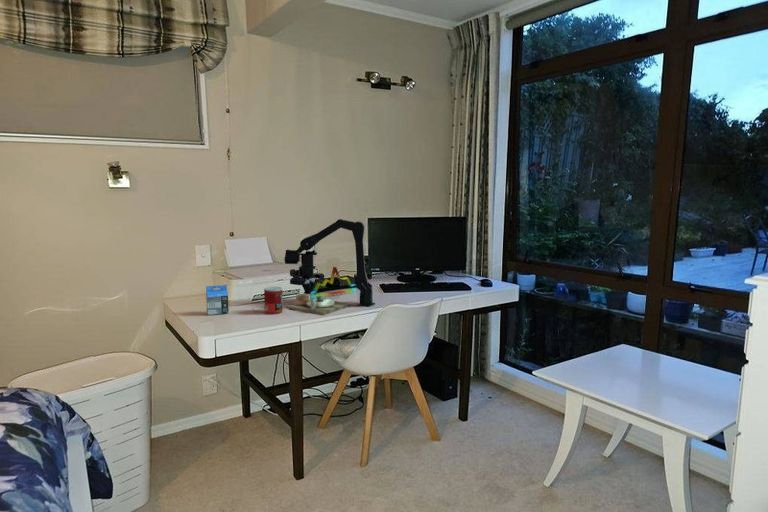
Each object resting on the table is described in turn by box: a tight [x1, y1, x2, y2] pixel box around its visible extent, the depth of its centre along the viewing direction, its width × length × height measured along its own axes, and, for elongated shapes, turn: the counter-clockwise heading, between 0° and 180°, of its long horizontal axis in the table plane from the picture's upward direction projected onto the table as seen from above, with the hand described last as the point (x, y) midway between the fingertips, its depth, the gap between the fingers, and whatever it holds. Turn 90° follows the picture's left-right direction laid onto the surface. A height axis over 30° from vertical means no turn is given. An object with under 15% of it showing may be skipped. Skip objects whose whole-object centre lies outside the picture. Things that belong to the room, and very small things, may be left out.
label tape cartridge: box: [205, 284, 230, 316], centre depth 211 cm, size 9×4×12 cm, turn 114°
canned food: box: [263, 286, 284, 315], centre depth 214 cm, size 8×8×11 cm
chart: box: [310, 266, 357, 299], centre depth 248 cm, size 30×3×15 cm, turn 132°
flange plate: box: [295, 293, 335, 308], centre depth 224 cm, size 18×13×4 cm
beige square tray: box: [288, 299, 351, 316], centre depth 224 cm, size 20×20×6 cm
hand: (307, 296), depth 229 cm, fingers closed
